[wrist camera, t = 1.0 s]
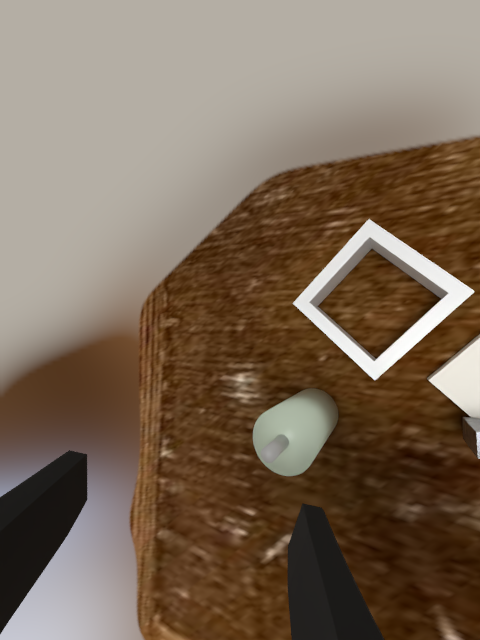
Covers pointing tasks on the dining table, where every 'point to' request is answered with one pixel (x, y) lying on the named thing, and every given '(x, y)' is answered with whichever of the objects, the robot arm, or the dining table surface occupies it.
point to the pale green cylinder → (295, 431)
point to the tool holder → (408, 262)
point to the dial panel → (462, 378)
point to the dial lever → (472, 434)
